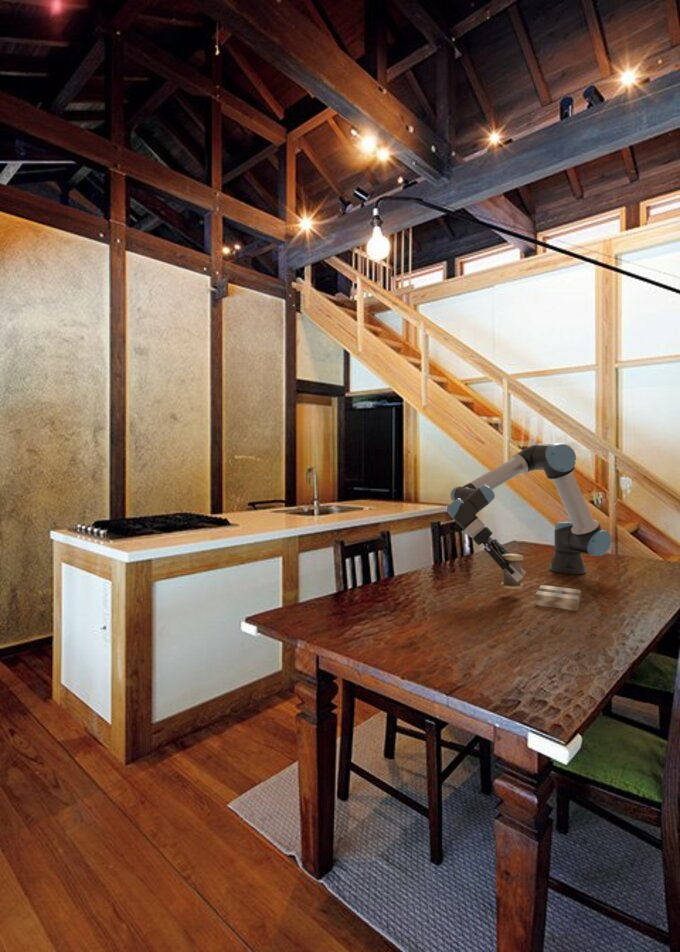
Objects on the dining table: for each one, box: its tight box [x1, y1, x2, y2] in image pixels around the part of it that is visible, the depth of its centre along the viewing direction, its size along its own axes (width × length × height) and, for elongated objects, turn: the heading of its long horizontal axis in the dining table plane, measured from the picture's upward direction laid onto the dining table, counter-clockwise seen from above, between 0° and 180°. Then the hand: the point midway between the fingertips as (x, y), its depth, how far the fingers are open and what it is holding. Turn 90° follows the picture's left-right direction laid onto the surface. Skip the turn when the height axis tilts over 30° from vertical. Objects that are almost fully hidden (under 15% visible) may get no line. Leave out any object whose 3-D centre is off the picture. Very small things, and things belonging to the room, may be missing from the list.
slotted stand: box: [534, 584, 582, 612], centre depth 184 cm, size 14×14×4 cm
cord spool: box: [500, 553, 524, 590], centre depth 192 cm, size 8×8×12 cm
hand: (521, 577), depth 190 cm, fingers closed on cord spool, 6 cm apart
